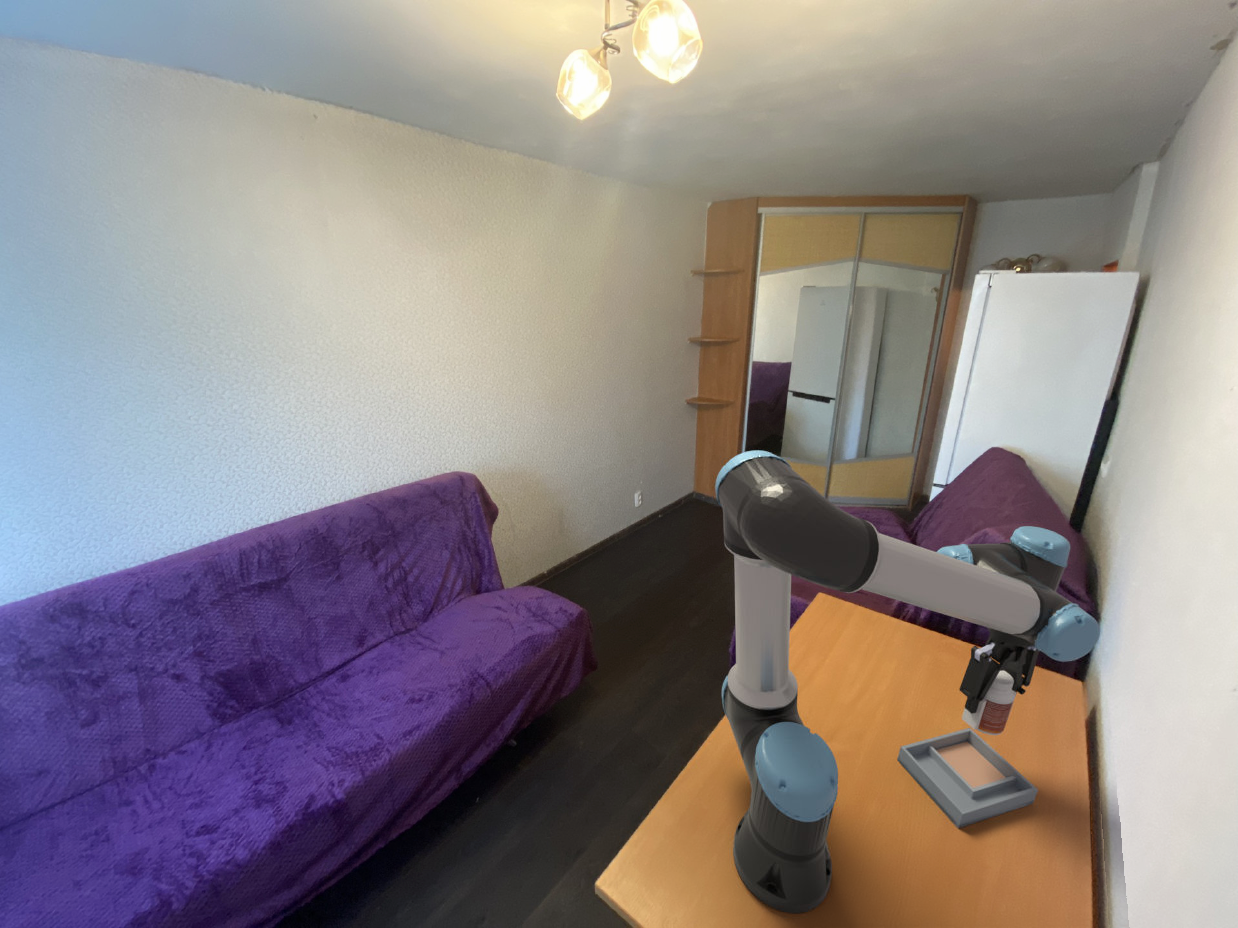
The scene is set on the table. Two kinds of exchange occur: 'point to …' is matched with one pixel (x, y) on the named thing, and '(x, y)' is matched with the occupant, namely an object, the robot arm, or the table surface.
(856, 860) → the table surface
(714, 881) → the table surface
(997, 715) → the pill bottle
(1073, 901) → the table surface
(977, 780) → the walled box
